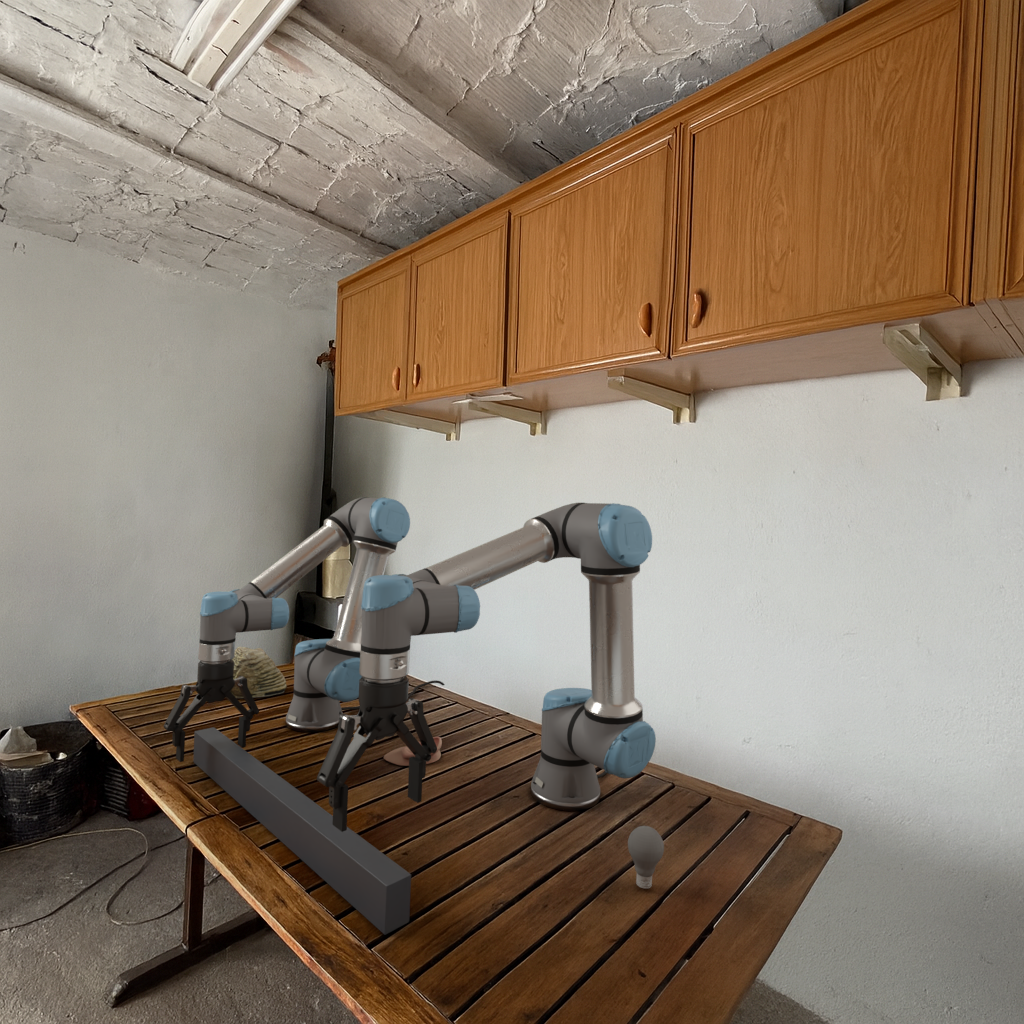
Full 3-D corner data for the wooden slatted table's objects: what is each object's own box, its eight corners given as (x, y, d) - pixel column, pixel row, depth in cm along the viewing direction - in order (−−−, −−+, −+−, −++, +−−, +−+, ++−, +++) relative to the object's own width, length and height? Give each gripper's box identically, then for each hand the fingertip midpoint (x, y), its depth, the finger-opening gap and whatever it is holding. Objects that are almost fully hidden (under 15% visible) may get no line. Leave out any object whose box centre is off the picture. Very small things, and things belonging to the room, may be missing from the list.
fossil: (218, 695, 195) (220, 647, 195) (278, 685, 208) (279, 640, 207) (228, 703, 189) (230, 653, 188) (289, 692, 201) (290, 645, 201)
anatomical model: (378, 746, 151) (397, 729, 163) (378, 762, 151) (396, 745, 163) (431, 753, 149) (446, 735, 160) (431, 770, 149) (445, 751, 160)
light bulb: (621, 876, 110) (624, 818, 109) (655, 875, 110) (658, 819, 110) (631, 897, 104) (634, 837, 103) (666, 897, 104) (669, 837, 104)
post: (193, 762, 148) (194, 731, 148) (212, 757, 151) (213, 727, 151) (384, 935, 93) (386, 886, 92) (409, 921, 96) (411, 874, 96)
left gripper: (162, 671, 133) (156, 772, 133) (276, 656, 151) (271, 744, 151) (151, 664, 139) (146, 760, 139) (262, 650, 156) (258, 735, 156)
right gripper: (322, 698, 86) (316, 852, 87) (461, 668, 104) (456, 796, 104) (296, 684, 91) (291, 830, 92) (433, 659, 109) (428, 781, 110)
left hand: (211, 752), depth 145 cm, fingers open, 13 cm apart
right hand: (378, 812), depth 98 cm, fingers open, 13 cm apart
